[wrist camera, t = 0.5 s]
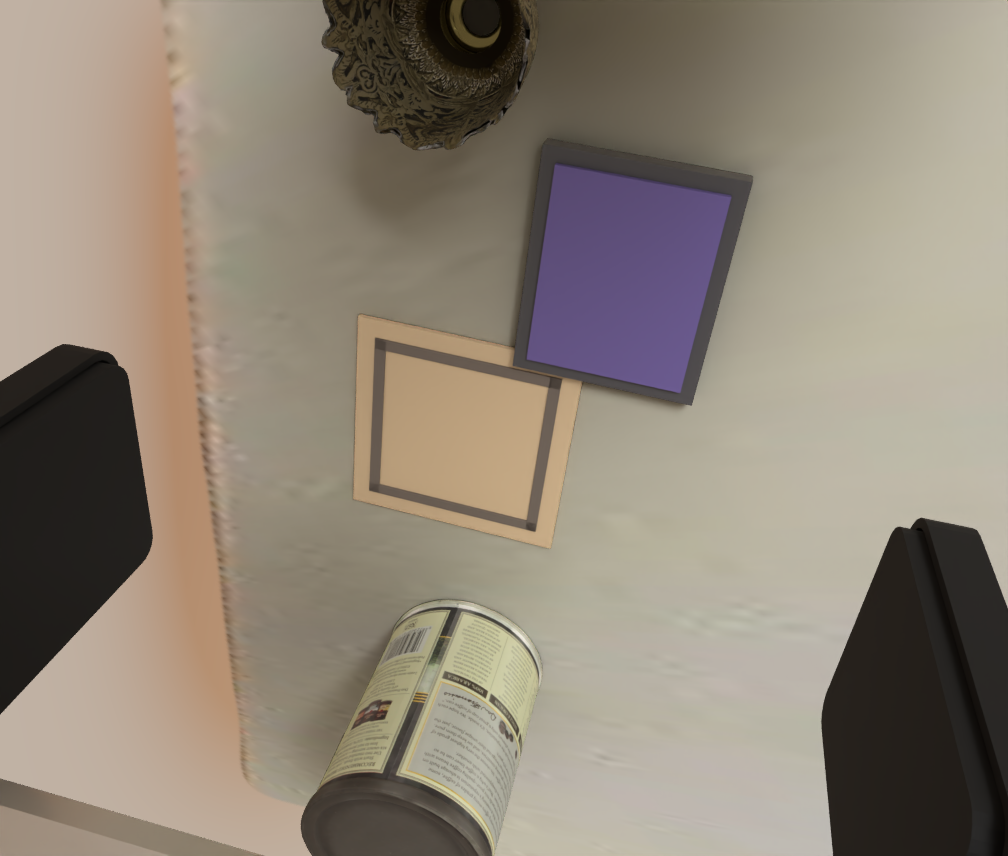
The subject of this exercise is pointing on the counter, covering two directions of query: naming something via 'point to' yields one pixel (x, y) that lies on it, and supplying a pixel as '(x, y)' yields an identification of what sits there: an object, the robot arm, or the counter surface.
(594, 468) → the counter surface
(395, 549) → the counter surface
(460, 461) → the print card
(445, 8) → the cup
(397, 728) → the coffee can
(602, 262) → the ink pad
